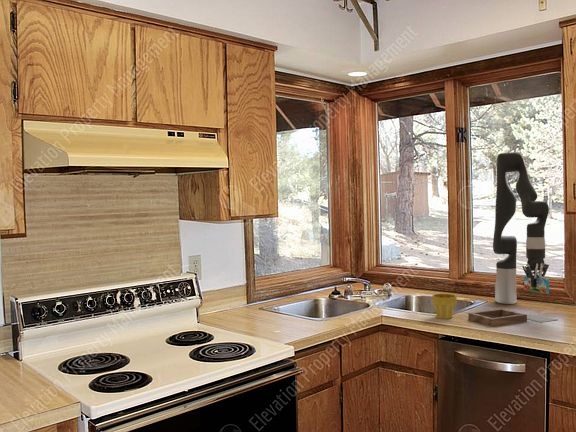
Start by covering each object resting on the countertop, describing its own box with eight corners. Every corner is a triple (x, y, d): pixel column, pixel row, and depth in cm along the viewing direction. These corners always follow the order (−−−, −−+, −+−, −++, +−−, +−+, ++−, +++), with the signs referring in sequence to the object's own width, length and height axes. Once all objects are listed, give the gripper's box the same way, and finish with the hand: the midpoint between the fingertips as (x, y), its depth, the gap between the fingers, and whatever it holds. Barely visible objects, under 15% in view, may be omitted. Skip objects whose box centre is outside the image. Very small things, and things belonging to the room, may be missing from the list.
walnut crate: (468, 319, 239) (468, 313, 239) (502, 315, 247) (502, 308, 247) (492, 326, 227) (492, 319, 226) (526, 321, 234) (526, 314, 234)
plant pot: (451, 320, 238) (451, 298, 238) (428, 318, 245) (428, 296, 244) (460, 316, 247) (460, 294, 246) (437, 313, 253) (437, 292, 252)
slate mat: (514, 316, 245) (514, 315, 245) (531, 313, 249) (531, 313, 249) (540, 322, 232) (540, 322, 232) (558, 319, 236) (558, 319, 236)
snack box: (524, 290, 245) (523, 276, 245) (526, 289, 246) (526, 275, 245) (546, 294, 234) (546, 279, 234) (549, 293, 235) (548, 279, 234)
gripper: (540, 245, 245) (540, 284, 246) (516, 247, 240) (517, 287, 241) (554, 247, 238) (554, 287, 239) (530, 248, 233) (530, 289, 234)
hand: (535, 287), depth 240 cm, fingers closed on snack box, 1 cm apart
